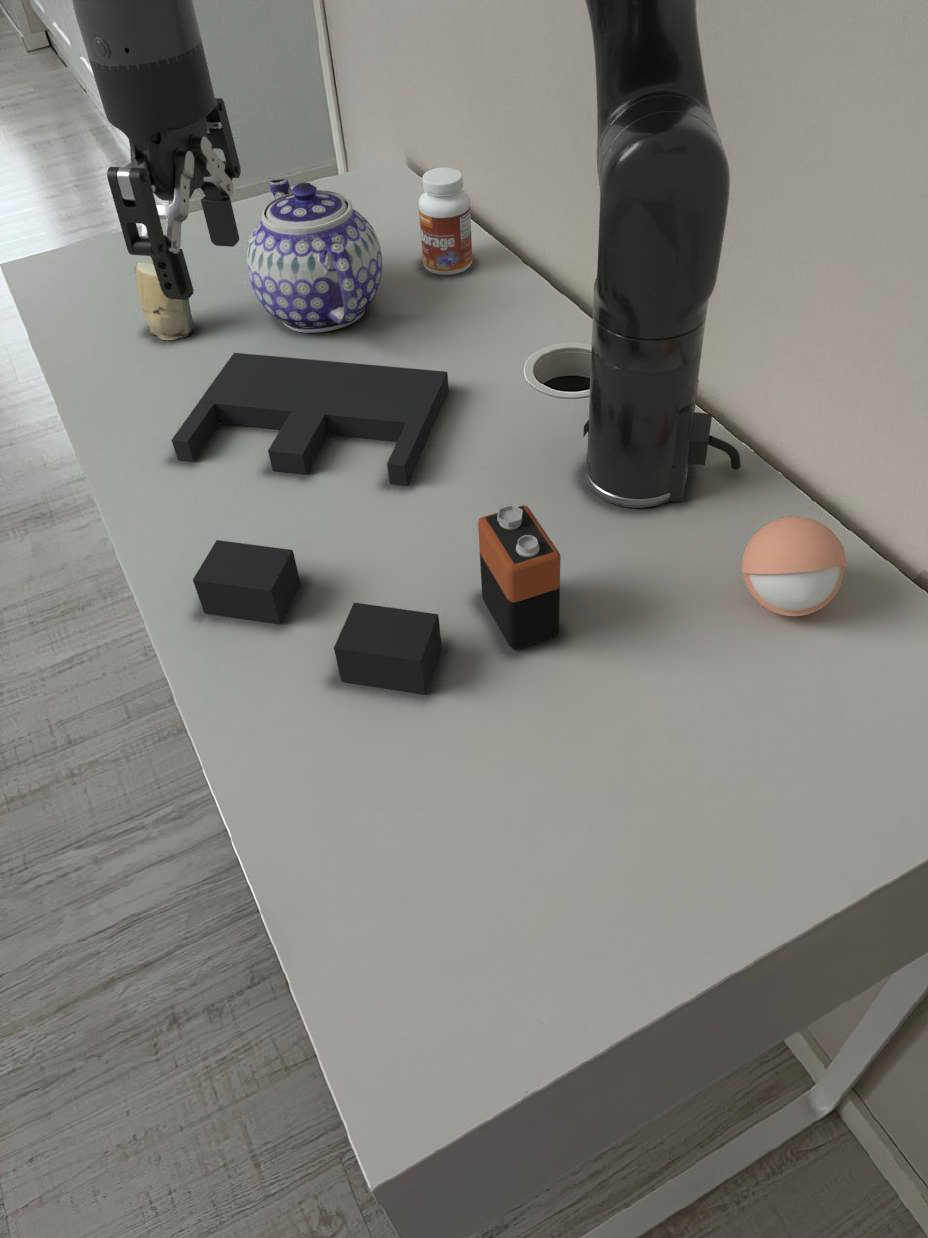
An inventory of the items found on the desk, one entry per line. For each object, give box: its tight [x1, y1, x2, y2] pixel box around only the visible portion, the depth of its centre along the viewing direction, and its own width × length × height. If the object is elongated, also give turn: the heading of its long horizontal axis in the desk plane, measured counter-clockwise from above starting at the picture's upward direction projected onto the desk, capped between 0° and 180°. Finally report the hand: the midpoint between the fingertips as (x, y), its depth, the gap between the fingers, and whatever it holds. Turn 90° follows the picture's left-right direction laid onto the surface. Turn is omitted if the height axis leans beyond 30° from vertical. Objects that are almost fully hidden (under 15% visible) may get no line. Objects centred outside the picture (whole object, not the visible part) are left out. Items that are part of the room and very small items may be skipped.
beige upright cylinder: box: [133, 261, 195, 341], centre depth 117 cm, size 6×5×8 cm
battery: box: [477, 504, 562, 650], centre depth 81 cm, size 4×7×10 cm, turn 21°
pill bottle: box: [418, 167, 473, 276], centre depth 123 cm, size 6×6×11 cm
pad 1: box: [192, 539, 302, 625], centre depth 87 cm, size 7×5×4 cm
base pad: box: [171, 352, 450, 487], centre depth 104 cm, size 24×16×2 cm, turn 76°
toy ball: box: [741, 515, 848, 617], centre depth 81 cm, size 8×8×8 cm
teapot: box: [246, 178, 383, 334], centre depth 116 cm, size 25×15×15 cm, turn 21°
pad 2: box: [333, 602, 443, 695], centre depth 80 cm, size 7×5×4 cm
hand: (204, 269), depth 79 cm, fingers open, 8 cm apart
